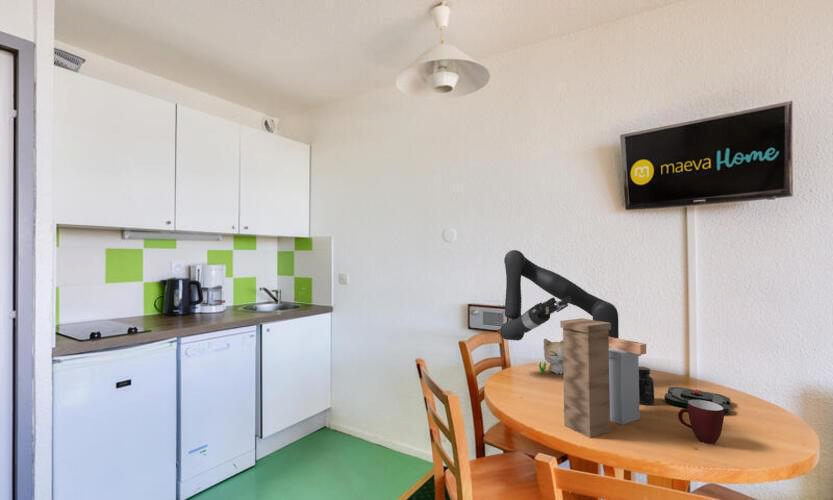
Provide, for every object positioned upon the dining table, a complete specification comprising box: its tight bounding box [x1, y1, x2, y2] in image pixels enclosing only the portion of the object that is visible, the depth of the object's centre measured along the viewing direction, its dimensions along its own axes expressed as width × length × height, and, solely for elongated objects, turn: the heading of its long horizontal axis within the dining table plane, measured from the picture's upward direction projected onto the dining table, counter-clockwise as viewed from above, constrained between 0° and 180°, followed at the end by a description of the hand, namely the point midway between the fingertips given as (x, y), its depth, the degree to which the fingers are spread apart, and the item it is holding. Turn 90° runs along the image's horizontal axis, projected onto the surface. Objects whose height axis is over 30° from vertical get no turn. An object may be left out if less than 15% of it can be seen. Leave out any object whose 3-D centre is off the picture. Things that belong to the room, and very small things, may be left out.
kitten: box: [538, 338, 564, 375], centre depth 170 cm, size 15×10×15 cm, turn 90°
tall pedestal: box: [559, 318, 611, 439], centre depth 114 cm, size 10×10×32 cm
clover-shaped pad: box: [663, 386, 731, 414], centre depth 133 cm, size 18×18×5 cm
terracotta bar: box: [609, 337, 647, 356], centre depth 125 cm, size 22×3×3 cm, turn 28°
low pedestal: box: [609, 348, 642, 426], centre depth 122 cm, size 10×10×22 cm
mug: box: [677, 400, 725, 445], centre depth 106 cm, size 10×8×10 cm
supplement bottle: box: [639, 366, 655, 406], centre depth 135 cm, size 7×7×12 cm
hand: (562, 298), depth 141 cm, fingers open, 8 cm apart
